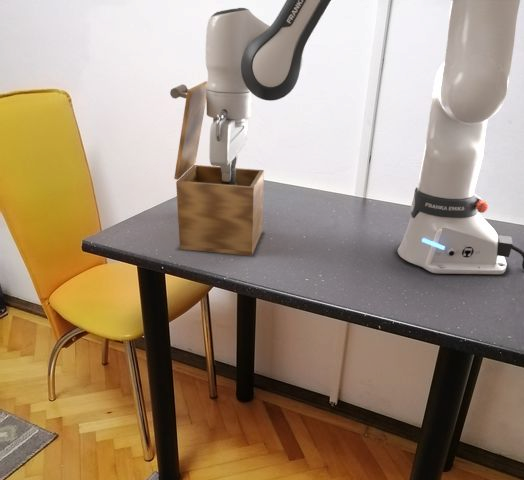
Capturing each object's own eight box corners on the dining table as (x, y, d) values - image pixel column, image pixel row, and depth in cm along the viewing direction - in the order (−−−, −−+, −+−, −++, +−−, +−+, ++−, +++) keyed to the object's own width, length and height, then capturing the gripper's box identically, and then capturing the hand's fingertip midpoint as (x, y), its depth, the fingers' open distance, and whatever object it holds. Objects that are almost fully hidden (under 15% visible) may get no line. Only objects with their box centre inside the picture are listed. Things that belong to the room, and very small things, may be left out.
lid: (209, 82, 108) (185, 75, 108) (191, 91, 97) (165, 83, 97) (195, 163, 118) (173, 156, 118) (177, 180, 106) (153, 172, 106)
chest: (261, 232, 124) (264, 170, 116) (251, 255, 113) (253, 187, 105) (196, 227, 126) (193, 164, 118) (179, 249, 114) (176, 181, 107)
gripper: (234, 116, 95) (234, 193, 102) (253, 99, 112) (251, 167, 119) (200, 114, 96) (202, 190, 103) (224, 97, 113) (224, 164, 120)
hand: (228, 177), depth 111 cm, fingers closed on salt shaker, 3 cm apart
